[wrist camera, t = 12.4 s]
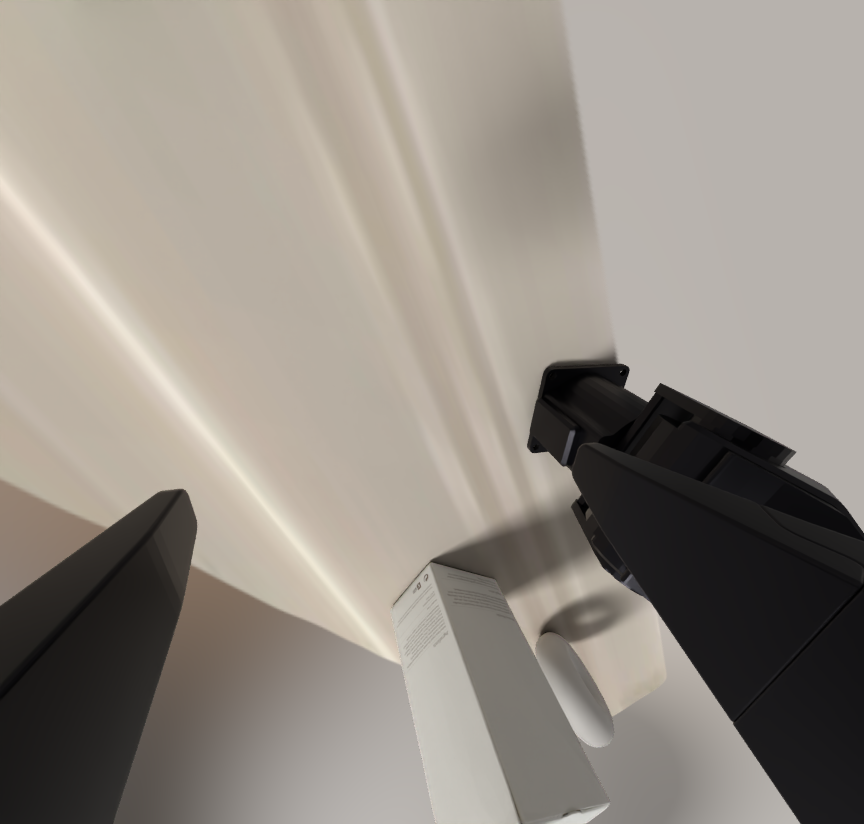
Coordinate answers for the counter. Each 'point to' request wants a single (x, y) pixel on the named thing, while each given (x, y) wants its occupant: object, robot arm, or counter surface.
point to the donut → (575, 690)
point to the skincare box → (487, 709)
